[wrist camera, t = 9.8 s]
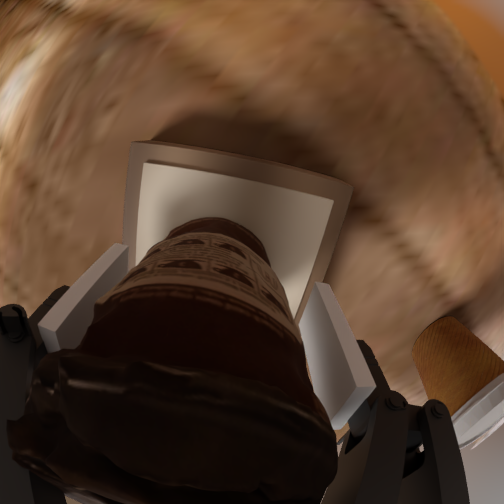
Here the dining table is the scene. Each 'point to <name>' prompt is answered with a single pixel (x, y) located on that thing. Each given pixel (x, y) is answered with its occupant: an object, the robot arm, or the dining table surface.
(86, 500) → the coffee cup
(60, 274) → the dining table surface
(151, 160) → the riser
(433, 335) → the disposable coffee cup
